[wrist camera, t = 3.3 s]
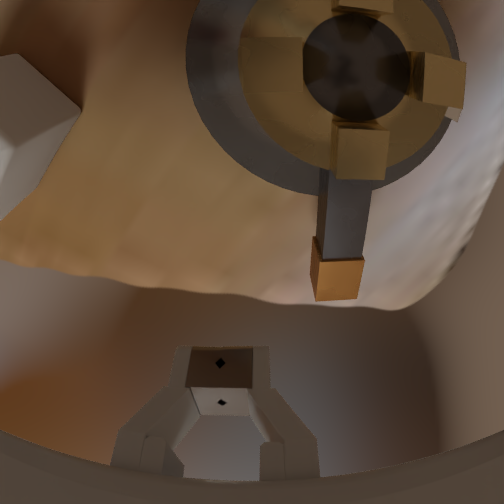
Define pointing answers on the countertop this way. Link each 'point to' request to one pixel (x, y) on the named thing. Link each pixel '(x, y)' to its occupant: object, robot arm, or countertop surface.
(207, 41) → the plate
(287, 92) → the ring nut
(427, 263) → the countertop surface
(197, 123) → the countertop surface
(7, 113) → the medicine bottle
